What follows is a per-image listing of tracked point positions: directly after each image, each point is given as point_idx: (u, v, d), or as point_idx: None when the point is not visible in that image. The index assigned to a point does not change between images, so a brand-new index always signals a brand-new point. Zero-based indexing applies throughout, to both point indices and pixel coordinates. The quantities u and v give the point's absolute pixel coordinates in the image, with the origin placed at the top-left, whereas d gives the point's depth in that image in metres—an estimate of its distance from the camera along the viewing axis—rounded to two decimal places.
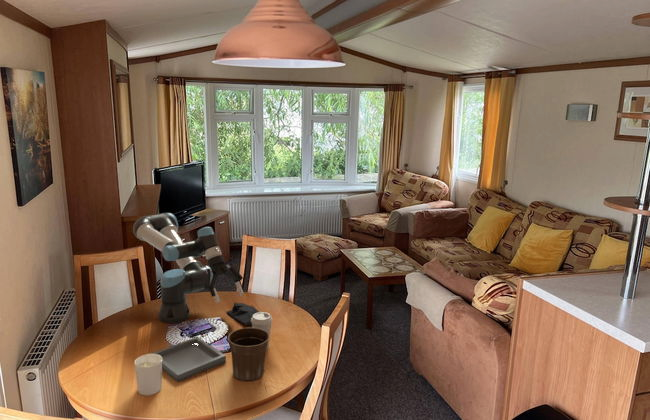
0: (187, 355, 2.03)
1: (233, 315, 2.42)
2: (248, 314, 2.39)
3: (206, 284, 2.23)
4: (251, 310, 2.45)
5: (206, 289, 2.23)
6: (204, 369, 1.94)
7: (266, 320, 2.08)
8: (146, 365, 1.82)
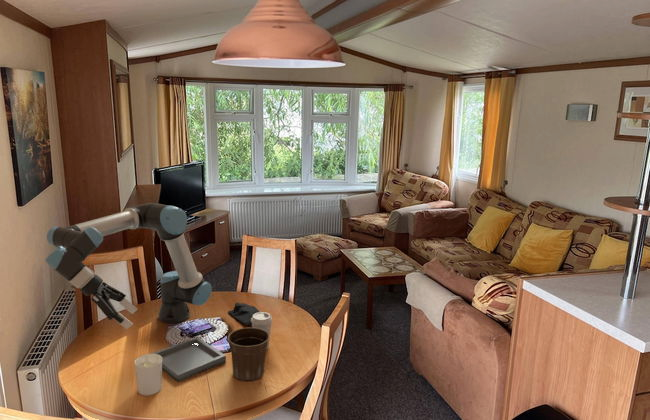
0: (187, 355, 2.03)
1: (234, 315, 2.42)
2: (249, 314, 2.39)
3: None
4: (252, 310, 2.45)
5: None
6: (204, 369, 1.94)
7: (266, 320, 2.08)
8: (146, 365, 1.82)
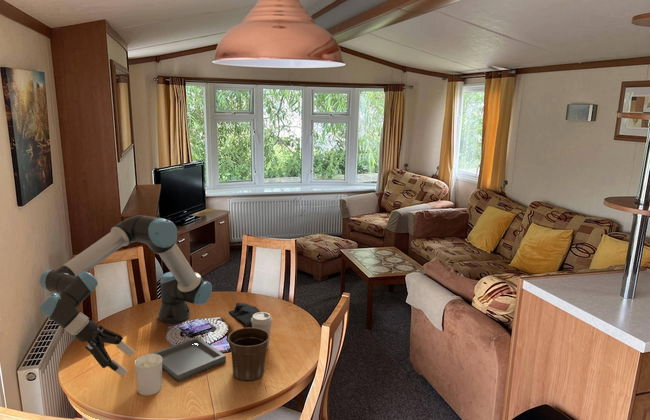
0: (187, 355, 2.03)
1: (235, 315, 2.42)
2: (249, 314, 2.39)
3: None
4: (253, 311, 2.45)
5: None
6: (204, 369, 1.94)
7: (266, 320, 2.08)
8: (146, 365, 1.82)
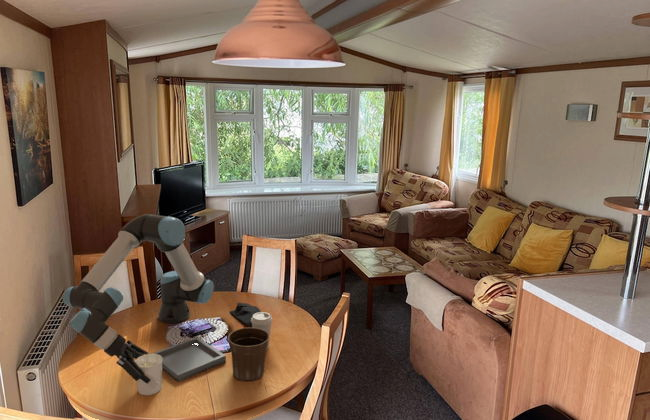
0: (187, 355, 2.03)
1: (236, 315, 2.42)
2: (250, 314, 2.39)
3: None
4: (254, 311, 2.45)
5: None
6: (204, 369, 1.94)
7: (266, 320, 2.08)
8: (146, 365, 1.82)
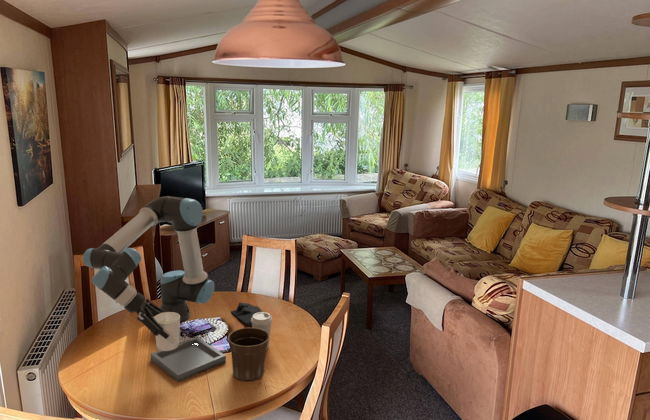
0: (187, 355, 2.03)
1: (236, 315, 2.43)
2: (251, 314, 2.39)
3: None
4: (255, 311, 2.45)
5: None
6: (204, 369, 1.94)
7: (266, 320, 2.08)
8: (164, 323, 1.88)
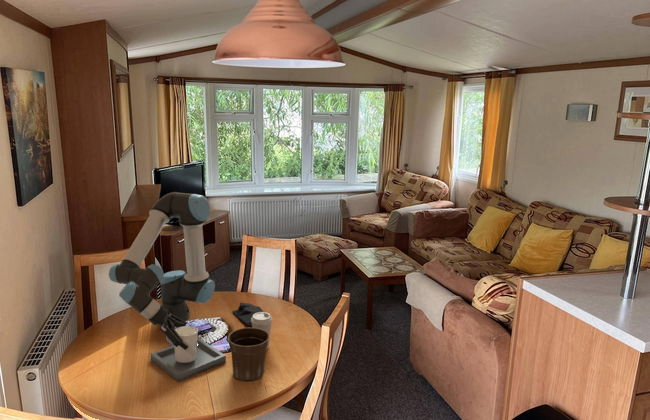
0: None
1: (238, 315, 2.43)
2: (252, 314, 2.39)
3: None
4: (256, 311, 2.45)
5: None
6: (204, 369, 1.94)
7: (266, 320, 2.08)
8: None
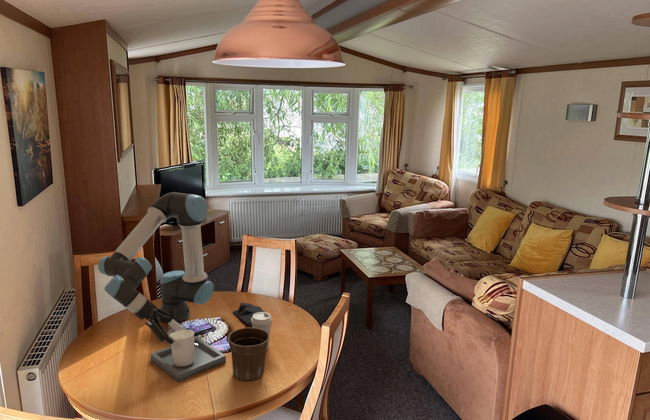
0: None
1: (238, 315, 2.42)
2: (252, 314, 2.39)
3: None
4: (256, 311, 2.45)
5: None
6: (204, 369, 1.94)
7: (266, 320, 2.08)
8: None
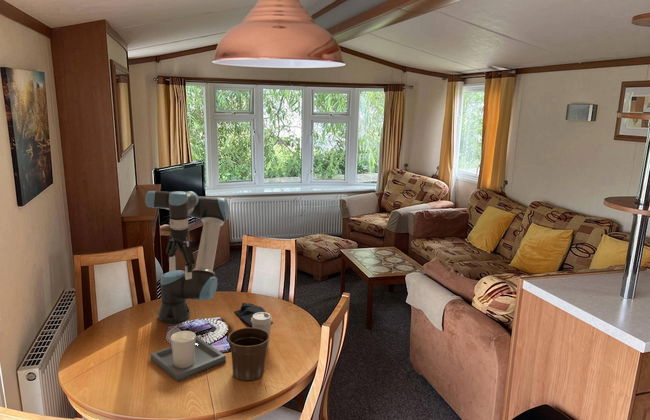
0: None
1: (240, 315, 2.43)
2: None
3: None
4: (258, 311, 2.45)
5: None
6: (204, 369, 1.94)
7: (266, 320, 2.08)
8: (181, 341, 1.99)
